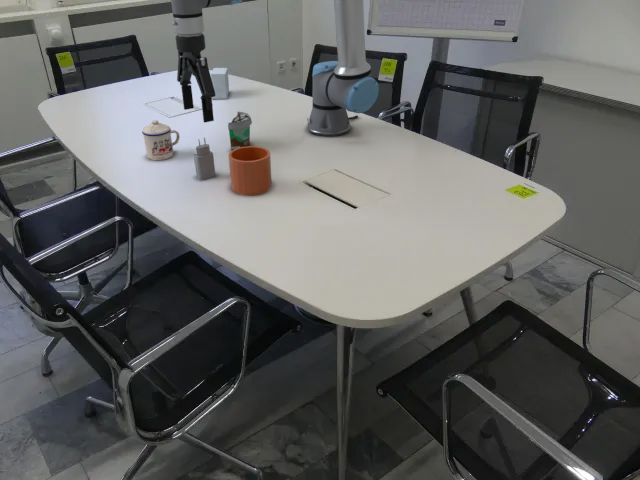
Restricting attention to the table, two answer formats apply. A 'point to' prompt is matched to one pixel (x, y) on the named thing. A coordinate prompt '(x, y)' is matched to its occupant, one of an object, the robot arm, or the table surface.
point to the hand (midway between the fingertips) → (198, 114)
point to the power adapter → (204, 162)
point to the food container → (240, 130)
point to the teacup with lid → (159, 140)
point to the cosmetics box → (220, 83)
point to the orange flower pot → (250, 170)
